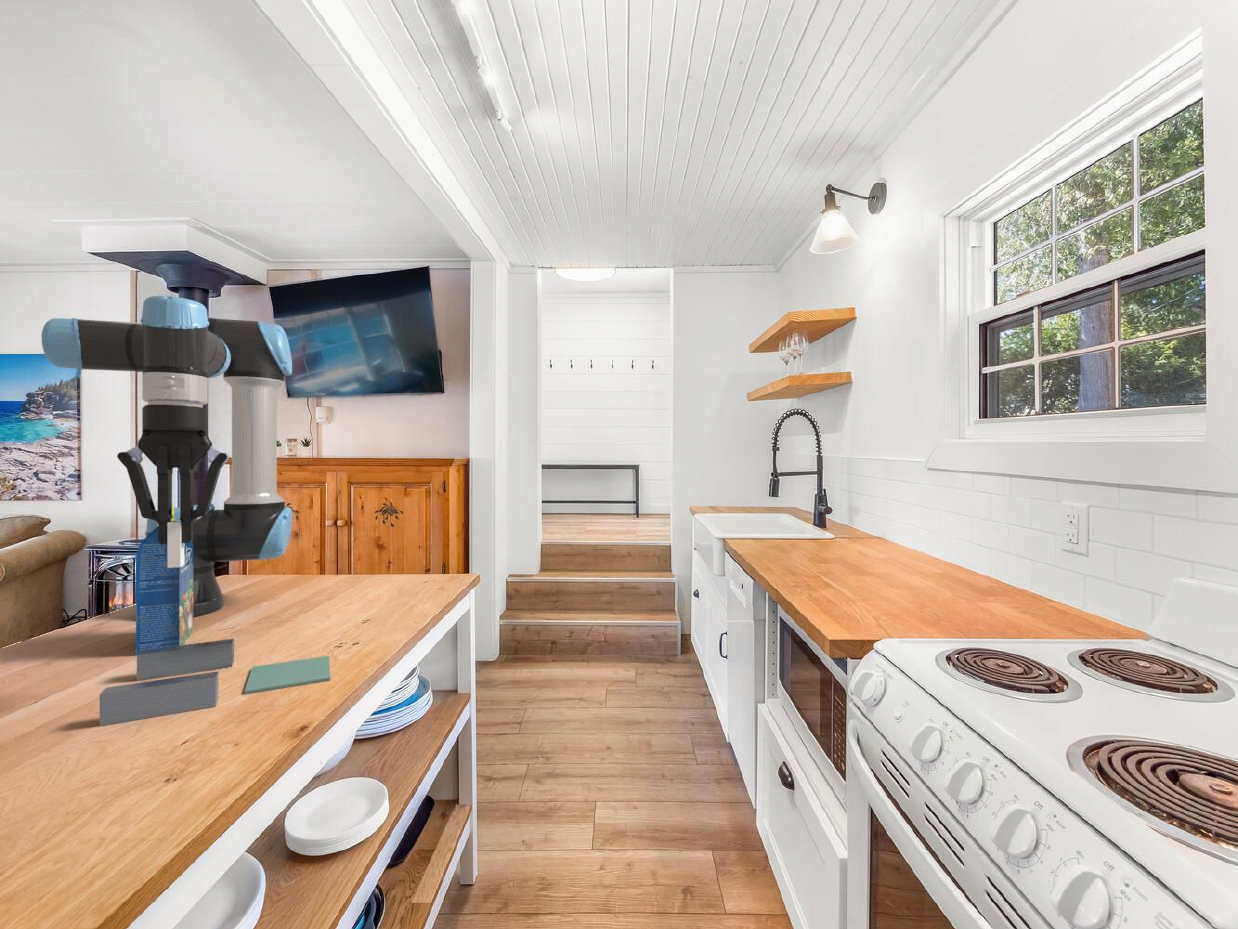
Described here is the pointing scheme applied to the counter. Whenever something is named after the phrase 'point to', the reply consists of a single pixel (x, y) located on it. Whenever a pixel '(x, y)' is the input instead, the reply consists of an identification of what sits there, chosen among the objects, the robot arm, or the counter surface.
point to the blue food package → (162, 595)
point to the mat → (288, 674)
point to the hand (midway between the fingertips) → (176, 565)
